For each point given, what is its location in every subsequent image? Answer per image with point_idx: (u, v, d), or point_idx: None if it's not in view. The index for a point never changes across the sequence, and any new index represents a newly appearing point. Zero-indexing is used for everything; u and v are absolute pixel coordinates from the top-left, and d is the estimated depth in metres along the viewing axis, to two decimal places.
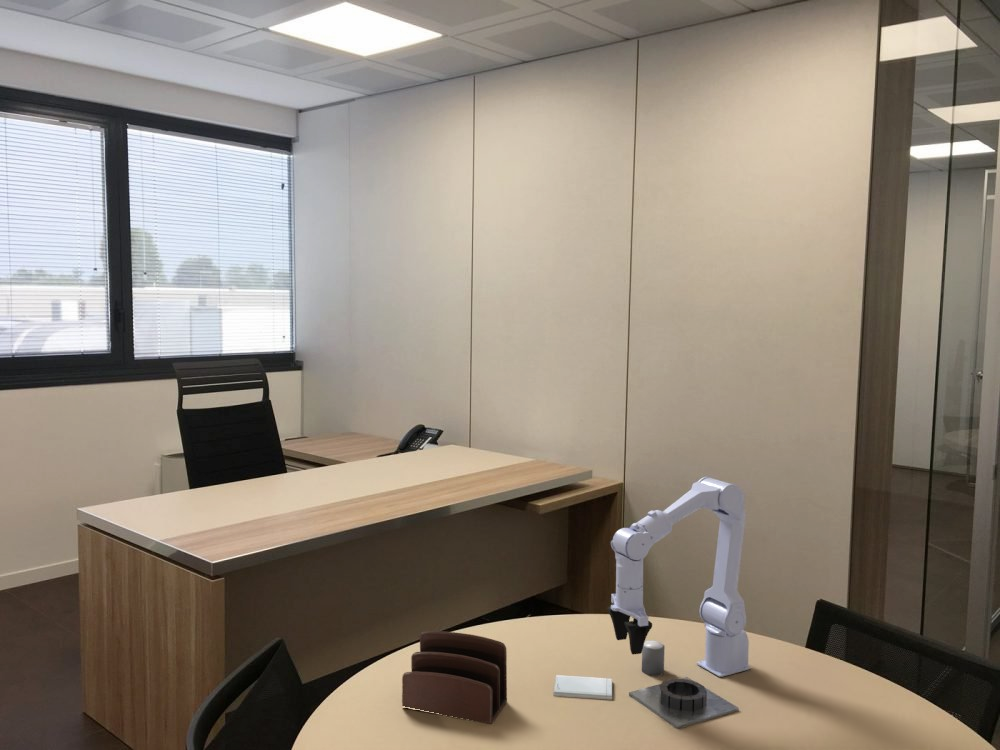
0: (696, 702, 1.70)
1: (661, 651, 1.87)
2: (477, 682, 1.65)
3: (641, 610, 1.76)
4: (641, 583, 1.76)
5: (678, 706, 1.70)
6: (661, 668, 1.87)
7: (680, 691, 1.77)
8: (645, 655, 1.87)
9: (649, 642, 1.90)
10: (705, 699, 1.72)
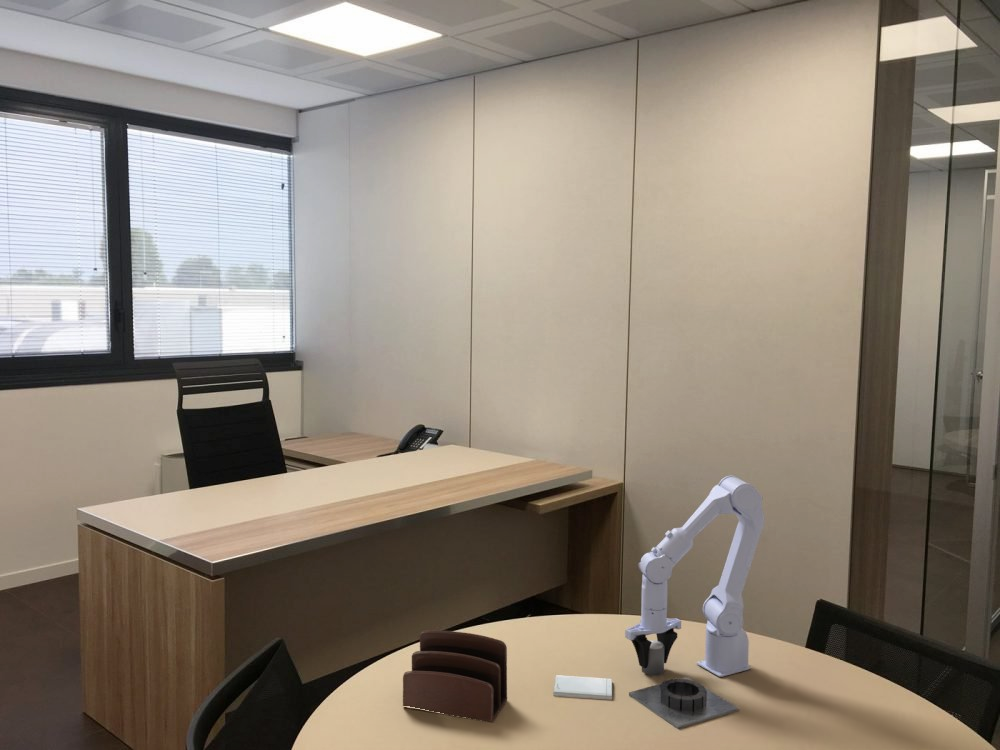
0: (696, 702, 1.70)
1: (661, 650, 1.87)
2: (478, 681, 1.66)
3: None
4: (663, 606, 1.85)
5: (678, 706, 1.70)
6: (661, 668, 1.87)
7: (680, 691, 1.77)
8: None
9: None
10: (705, 699, 1.72)
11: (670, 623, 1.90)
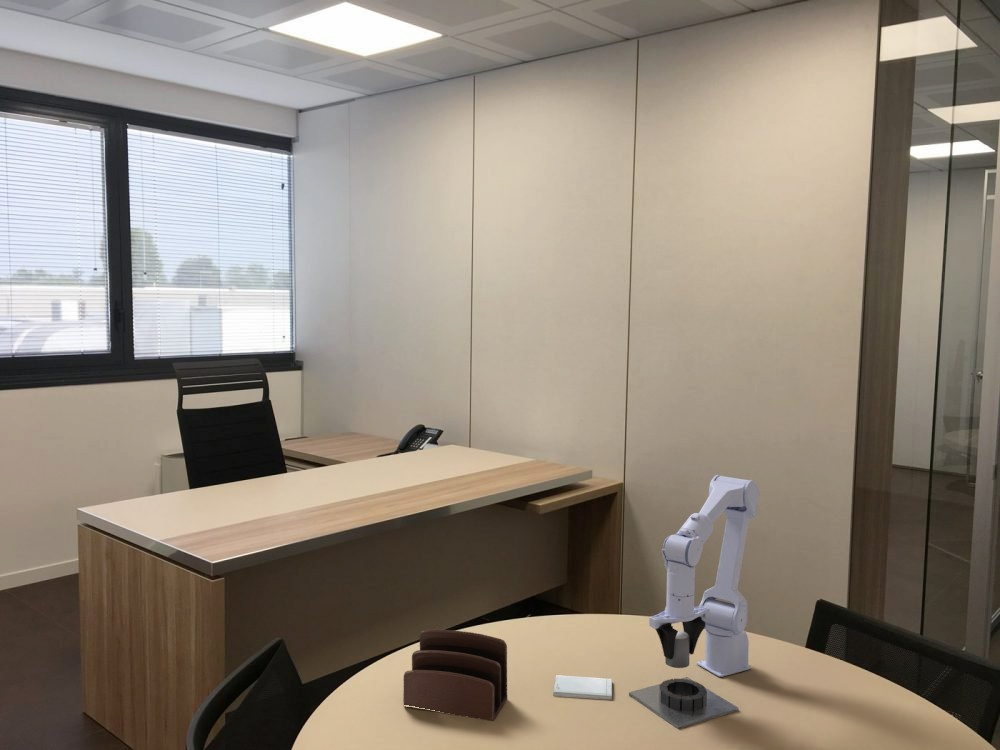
0: (696, 702, 1.70)
1: (685, 640, 1.73)
2: (479, 679, 1.67)
3: None
4: None
5: (678, 706, 1.70)
6: (686, 660, 1.74)
7: (680, 691, 1.77)
8: None
9: None
10: (705, 699, 1.72)
11: (697, 611, 1.76)
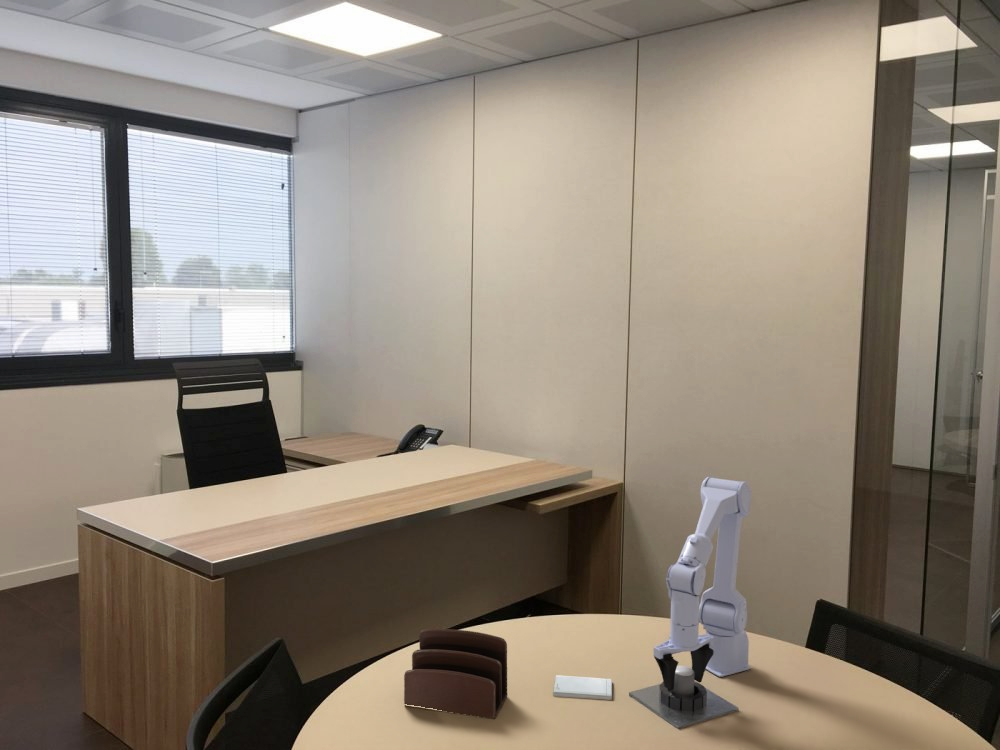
0: (696, 702, 1.70)
1: (690, 678, 1.72)
2: (480, 678, 1.67)
3: None
4: None
5: (678, 706, 1.70)
6: None
7: None
8: None
9: (678, 667, 1.75)
10: (705, 699, 1.72)
11: (702, 640, 1.75)
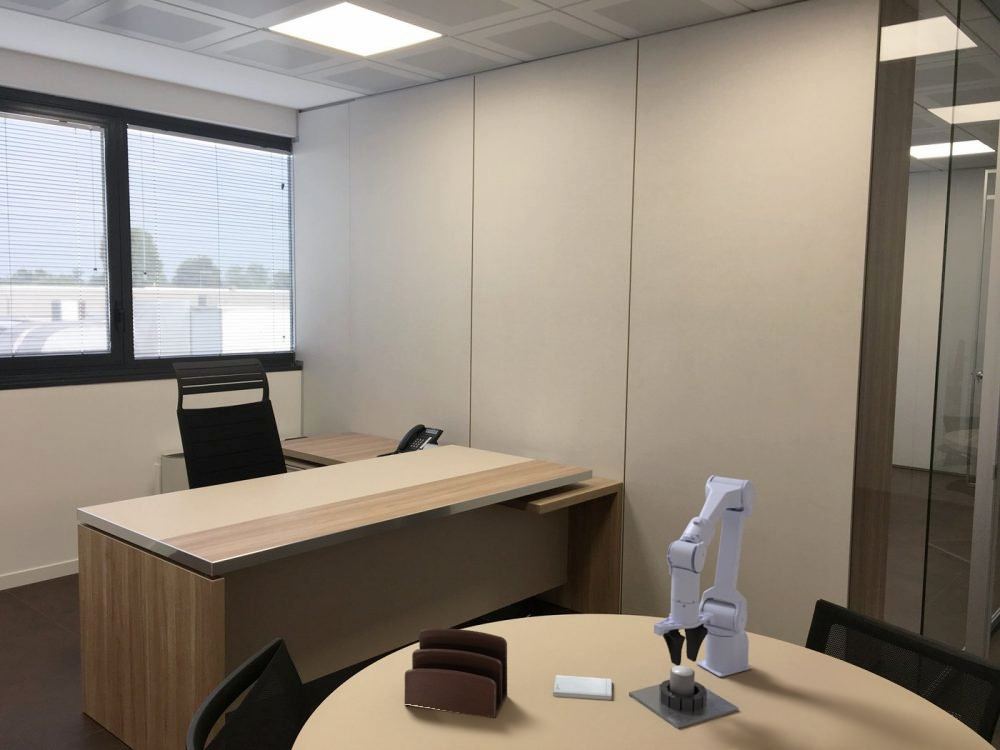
0: (696, 702, 1.70)
1: (690, 678, 1.72)
2: (481, 677, 1.68)
3: None
4: None
5: (678, 706, 1.70)
6: None
7: None
8: (673, 682, 1.73)
9: (678, 668, 1.75)
10: (705, 699, 1.72)
11: (702, 617, 1.74)
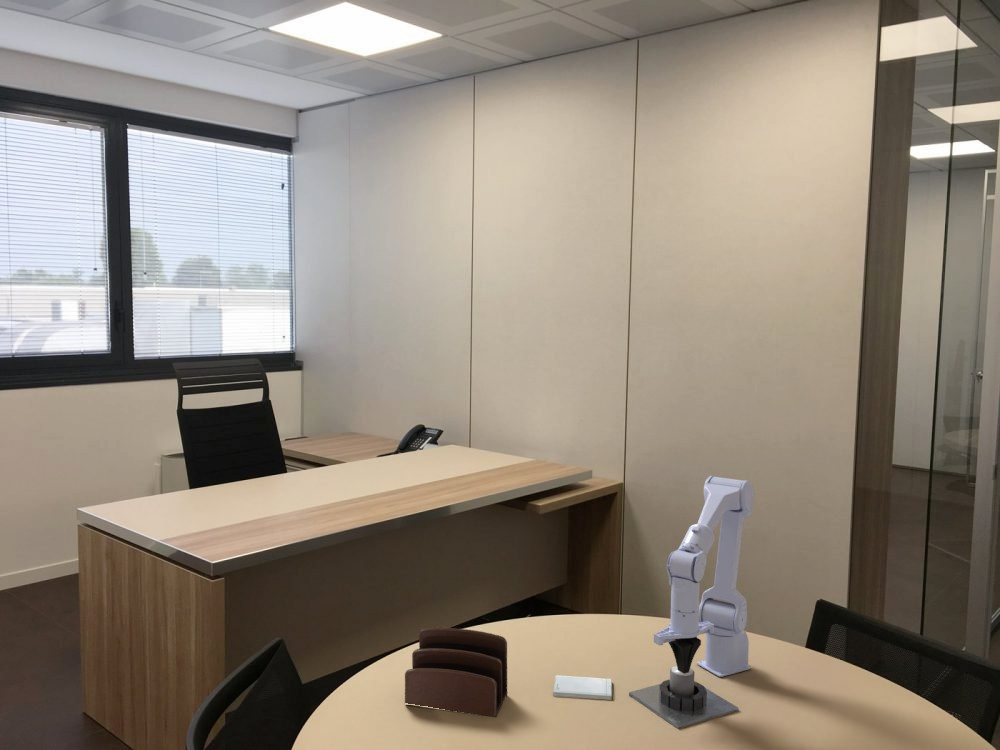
0: (696, 702, 1.70)
1: (690, 677, 1.72)
2: (481, 676, 1.68)
3: None
4: None
5: (678, 706, 1.70)
6: None
7: None
8: (673, 682, 1.73)
9: None
10: (705, 699, 1.72)
11: (702, 627, 1.74)
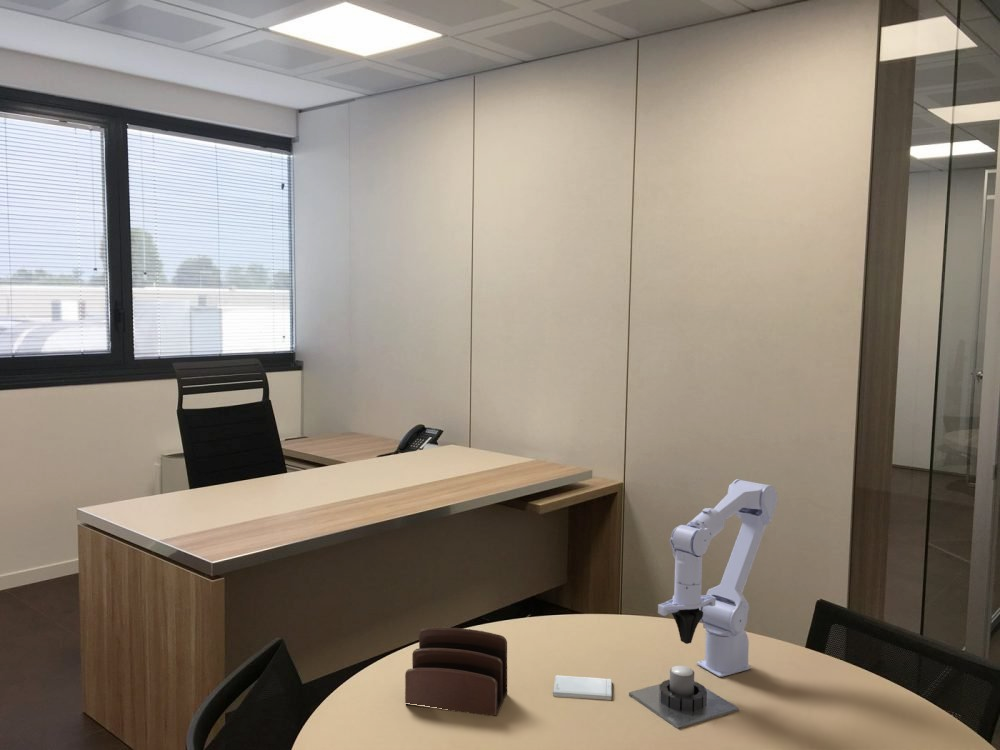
0: (696, 702, 1.70)
1: (690, 678, 1.72)
2: (482, 675, 1.68)
3: None
4: (701, 578, 1.79)
5: (678, 706, 1.70)
6: None
7: None
8: (673, 682, 1.72)
9: (677, 668, 1.75)
10: (705, 699, 1.72)
11: (704, 599, 1.82)
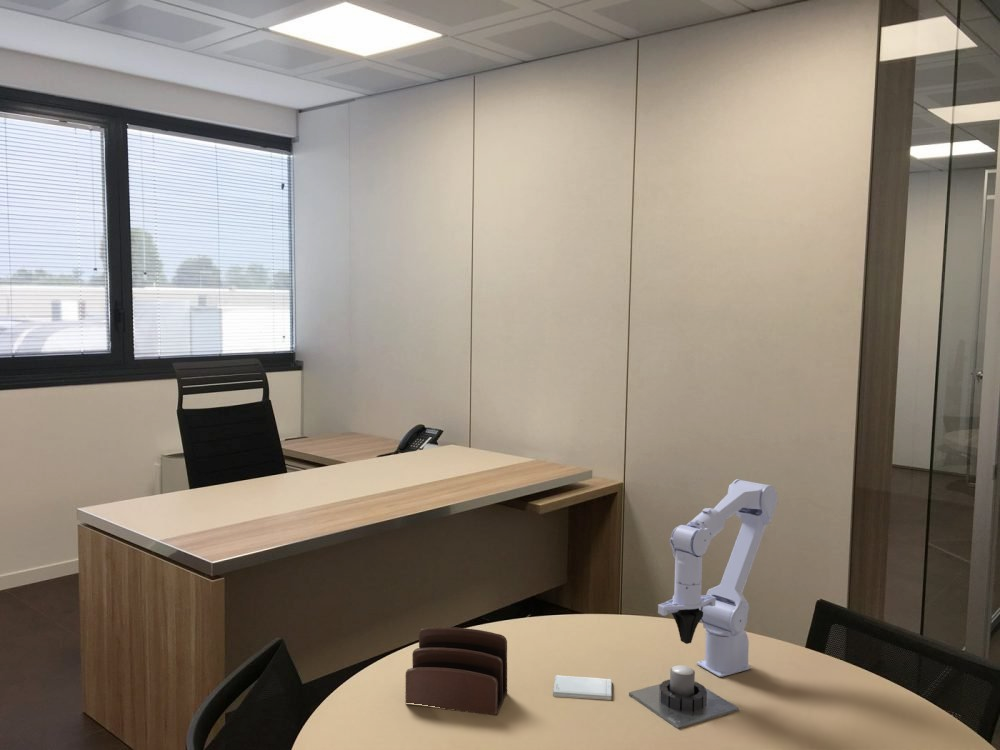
0: (696, 702, 1.70)
1: (691, 677, 1.72)
2: (482, 675, 1.69)
3: None
4: (701, 578, 1.79)
5: (678, 706, 1.70)
6: None
7: None
8: (674, 681, 1.73)
9: (678, 667, 1.75)
10: (705, 699, 1.72)
11: (704, 599, 1.82)
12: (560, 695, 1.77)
